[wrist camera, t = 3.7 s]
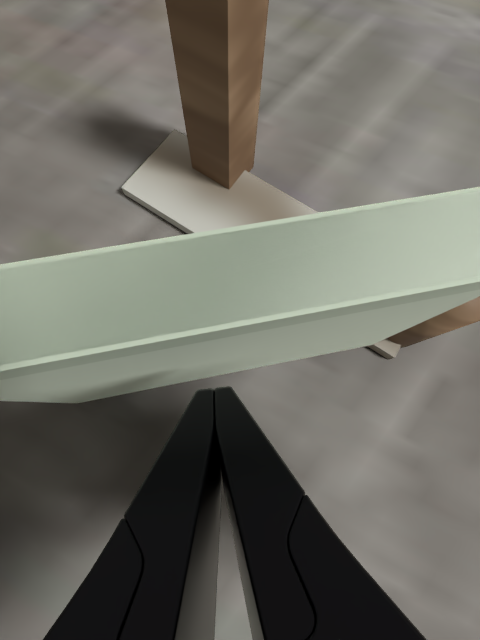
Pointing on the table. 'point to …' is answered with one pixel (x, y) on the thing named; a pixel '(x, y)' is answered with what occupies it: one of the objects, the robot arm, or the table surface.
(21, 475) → the table surface
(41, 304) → the pale green flat panel
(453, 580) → the table surface
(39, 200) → the table surface
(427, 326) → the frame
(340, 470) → the table surface
